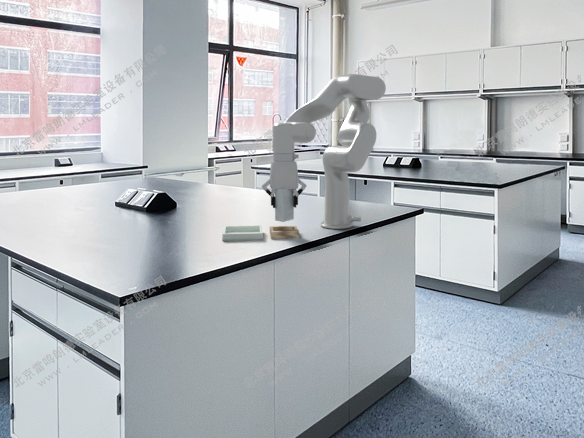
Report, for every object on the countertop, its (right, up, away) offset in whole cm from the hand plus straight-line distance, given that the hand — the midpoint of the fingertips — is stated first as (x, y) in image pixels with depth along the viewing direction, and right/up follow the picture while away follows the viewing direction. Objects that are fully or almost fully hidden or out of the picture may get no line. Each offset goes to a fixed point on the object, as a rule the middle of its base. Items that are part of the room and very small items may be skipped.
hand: (284, 206), depth 192 cm
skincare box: (0, -5, +1) cm, 5 cm away
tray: (-15, -11, 0) cm, 19 cm away
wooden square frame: (0, -10, +2) cm, 11 cm away
